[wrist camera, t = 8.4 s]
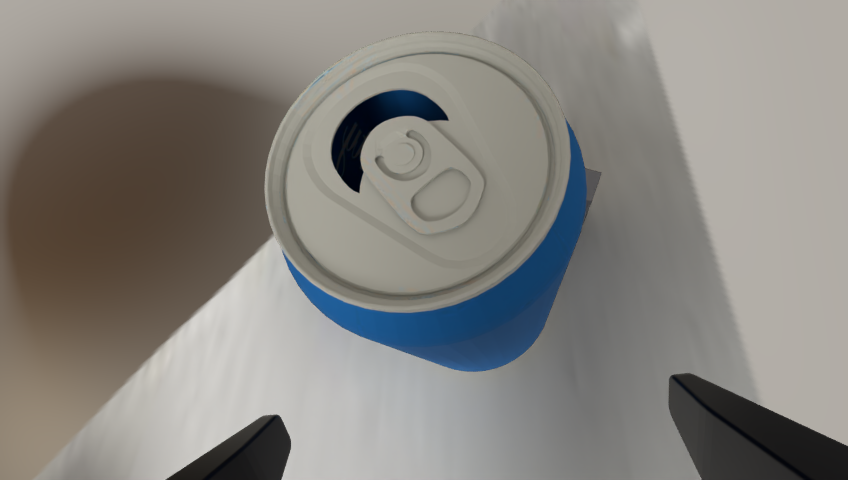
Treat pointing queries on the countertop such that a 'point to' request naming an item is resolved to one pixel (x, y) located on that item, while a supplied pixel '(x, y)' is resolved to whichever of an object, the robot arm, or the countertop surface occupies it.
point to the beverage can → (429, 197)
